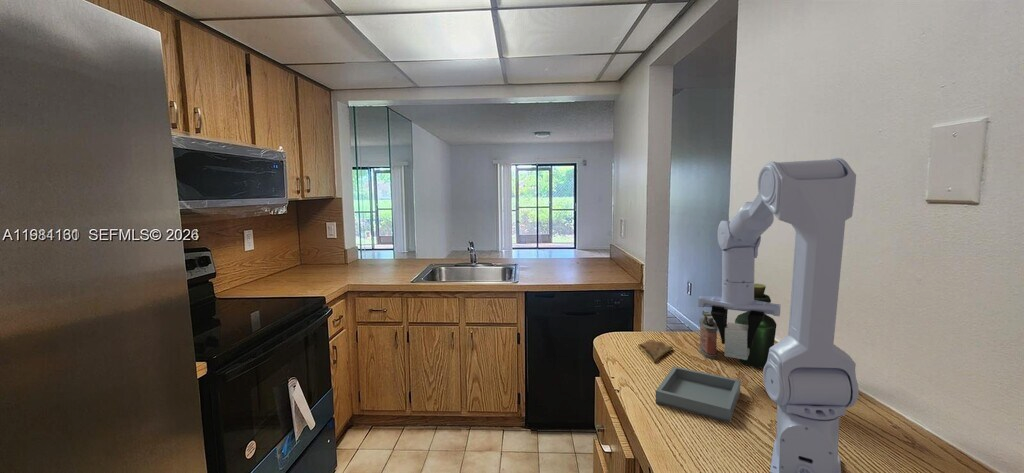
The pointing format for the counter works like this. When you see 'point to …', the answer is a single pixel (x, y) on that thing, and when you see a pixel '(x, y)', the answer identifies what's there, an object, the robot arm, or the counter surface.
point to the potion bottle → (759, 332)
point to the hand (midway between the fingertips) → (737, 344)
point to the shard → (654, 349)
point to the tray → (699, 393)
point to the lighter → (708, 335)
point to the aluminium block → (736, 341)
